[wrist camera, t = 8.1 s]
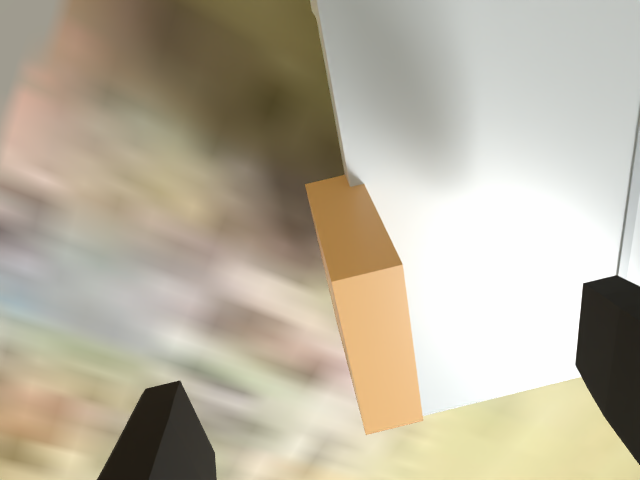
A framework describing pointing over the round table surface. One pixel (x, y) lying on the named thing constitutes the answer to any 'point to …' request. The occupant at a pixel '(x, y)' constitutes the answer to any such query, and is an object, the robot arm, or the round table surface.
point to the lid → (474, 190)
